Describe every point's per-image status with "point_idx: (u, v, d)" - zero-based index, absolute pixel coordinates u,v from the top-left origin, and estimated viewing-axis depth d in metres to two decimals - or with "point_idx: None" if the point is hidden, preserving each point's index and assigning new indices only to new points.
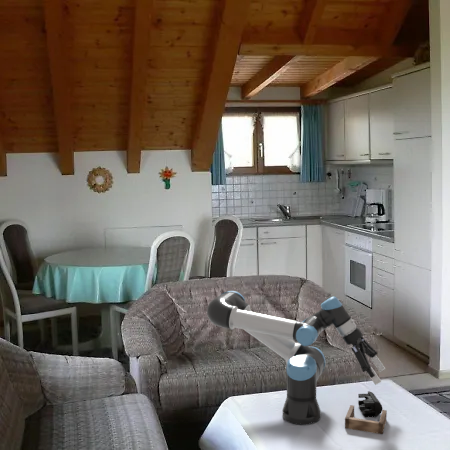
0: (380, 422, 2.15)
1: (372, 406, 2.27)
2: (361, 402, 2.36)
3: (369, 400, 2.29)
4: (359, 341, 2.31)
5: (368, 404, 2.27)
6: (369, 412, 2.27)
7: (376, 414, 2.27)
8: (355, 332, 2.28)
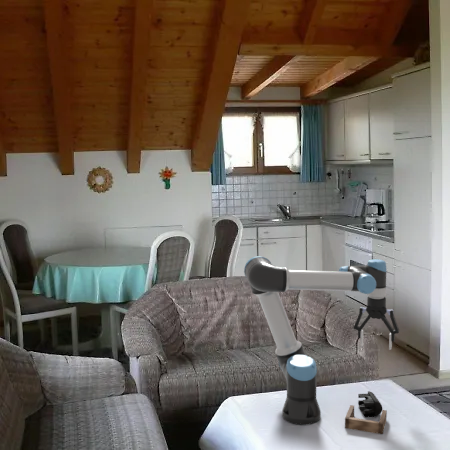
0: (380, 422, 2.15)
1: (372, 406, 2.27)
2: (361, 402, 2.36)
3: (369, 400, 2.29)
4: None
5: (368, 404, 2.27)
6: (369, 412, 2.27)
7: (376, 414, 2.27)
8: None
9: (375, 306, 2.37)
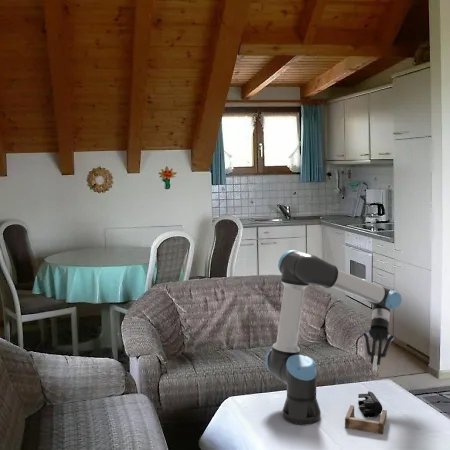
0: (380, 422, 2.15)
1: (372, 406, 2.27)
2: (361, 402, 2.36)
3: (369, 400, 2.29)
4: None
5: (368, 404, 2.27)
6: (369, 412, 2.27)
7: (376, 414, 2.27)
8: None
9: (378, 323, 2.48)
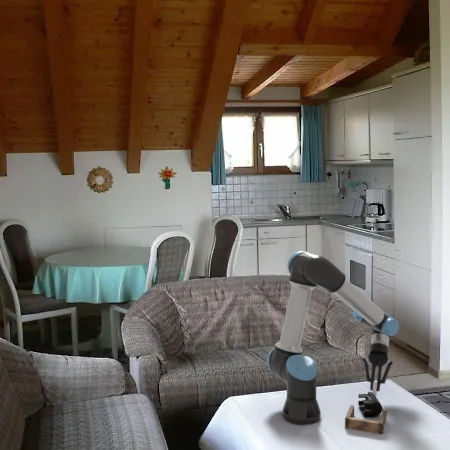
0: (380, 422, 2.15)
1: (372, 406, 2.27)
2: (361, 402, 2.36)
3: (369, 400, 2.29)
4: None
5: (368, 404, 2.27)
6: (369, 412, 2.27)
7: (376, 414, 2.27)
8: None
9: (378, 349, 2.46)
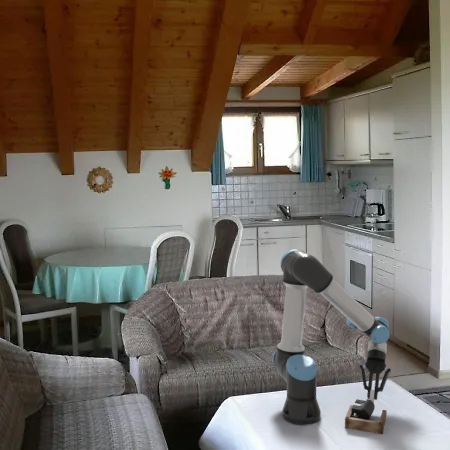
0: (380, 422, 2.15)
1: (359, 413, 2.21)
2: None
3: (359, 406, 2.23)
4: None
5: (355, 410, 2.22)
6: None
7: None
8: None
9: (375, 355, 2.39)
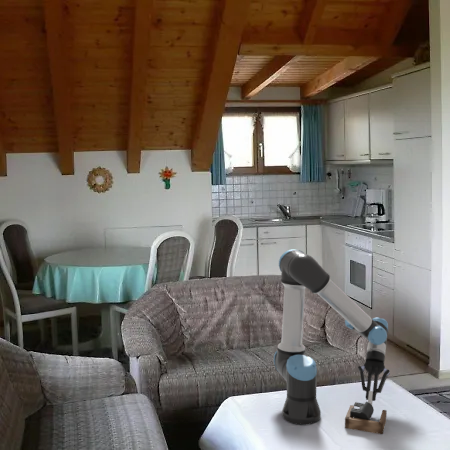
0: (380, 422, 2.15)
1: (358, 416, 2.19)
2: None
3: (358, 410, 2.21)
4: None
5: (354, 413, 2.20)
6: None
7: None
8: None
9: (374, 356, 2.37)
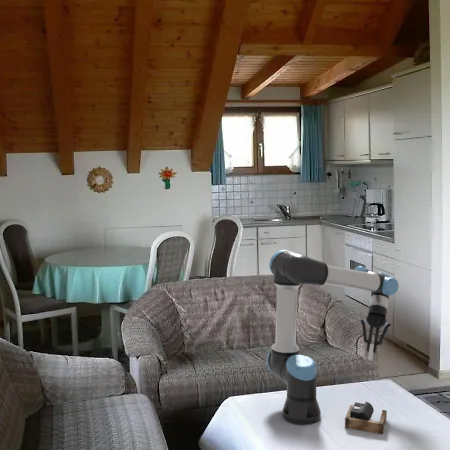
0: (380, 422, 2.15)
1: (358, 416, 2.19)
2: None
3: (357, 410, 2.21)
4: None
5: (354, 413, 2.20)
6: None
7: None
8: None
9: (376, 311, 2.46)
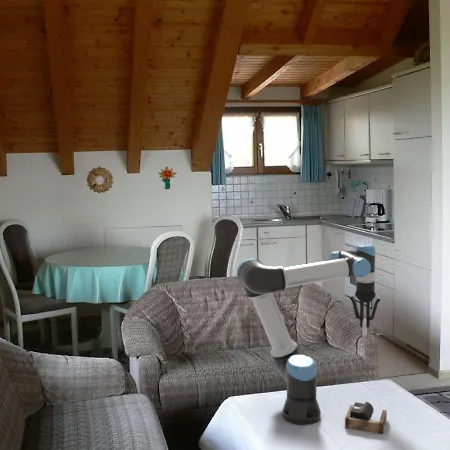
0: (380, 422, 2.15)
1: (358, 416, 2.19)
2: None
3: (357, 410, 2.21)
4: None
5: (354, 413, 2.20)
6: None
7: None
8: None
9: (364, 290, 2.40)
